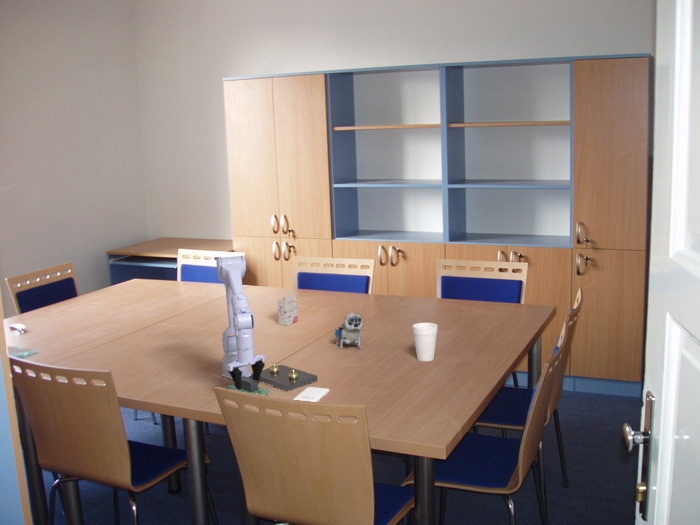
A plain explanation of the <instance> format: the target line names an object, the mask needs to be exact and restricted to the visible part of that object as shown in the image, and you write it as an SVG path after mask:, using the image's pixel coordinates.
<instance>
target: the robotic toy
mask: <svg viewBox="0 0 700 525" xmlns="http://www.w3.org/2000/svg"><path fill="white" fill-rule="evenodd" d="M360 315H361V313H360V312H358V313H357V312H355V311H353V312H349V313H347V315H346V316H345V317H344V321H343V323H342V324H341V325H340V327H338V329H335V330H334V335H335V336H336V338H337V339H336V343H335V344H336V346H339V349H340V350H343V344H346V345H357V348H358V349H359V350H360V349H362V346H361V338H362V332H363V330H362V329H363V328H365V326H363V323H366V320H365V318H363V319H362V317H363V316H360ZM363 320H364V321H363Z"/></svg>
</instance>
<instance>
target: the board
mask: <svg viewBox="0 0 700 525" xmlns="http://www.w3.org/2000/svg"><path fill="white" fill-rule="evenodd" d="M227 389H233V390H238V389H236V387H235V384H234V383H233V384H231V385H228V386H226V390H227ZM238 391H241V392H247V393H253V394H256V393H258V395H263V394H267V393H270V390H267V389H266V388H264V387H259V384H258V381H257V380H254V379H251V377H245V376H242V377H241V389H240V390H238ZM270 394H271V393H270Z"/></svg>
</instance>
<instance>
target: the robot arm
mask: <svg viewBox="0 0 700 525" xmlns="http://www.w3.org/2000/svg"><path fill="white" fill-rule="evenodd" d="M216 270H217V271H216V272H217V278H218V280H219V281H221V282H223V284H224V288H225V296H226V297H225V298H226V305H227V317H228V327H227V328H226V329H225V330H224V331H223V332H222V339H221V340H222V341H221V342H222V349H223V353H224V354H223V356H222V368H223V371H222V372H223V373H222V374H221V376H222V377H224V378H227V379H229V378H230V380H232V379H233V380H232V381H233V385H234V384H235V387H236V389H238V390H240V389H241V377H242V376H245V377H248V378H251V377H250V376H251V374H252V373H253V379H254V380H257V381H258V385H259V384H260V382H259V381H260V376H261V372H262V370H264V368H265V360H266V359H265V358H266V356H265V355H264V354H259V355H255V348H254V332H253V330H254V328H255V317H254V314H253V312H252V309H251V308H250V303H249V300H248V295H246V293H244V288H243V281H242V279H244V278H245V277H244V276H245V274H246V271H247V261H246V257H244V255H237V256H227V257H226V256H225V257H217V259H216ZM249 366H250V367H251V370H252V373H251V372H250V371H249V370H250V369H249Z"/></svg>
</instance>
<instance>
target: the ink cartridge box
mask: <svg viewBox="0 0 700 525" xmlns="http://www.w3.org/2000/svg"><path fill="white" fill-rule="evenodd" d="M297 303H298V302H297V292H296V291H295V290H294V291H291V292H288V293H286V294H284V297H283V298H281V299H277V312H278V314H277V315H278V325H279V326H286V327H287V326H290V325H292V324H295V323H297V322H298V320H299V318H298V316H299V315H298V306H297V305H298V304H297Z"/></svg>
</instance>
